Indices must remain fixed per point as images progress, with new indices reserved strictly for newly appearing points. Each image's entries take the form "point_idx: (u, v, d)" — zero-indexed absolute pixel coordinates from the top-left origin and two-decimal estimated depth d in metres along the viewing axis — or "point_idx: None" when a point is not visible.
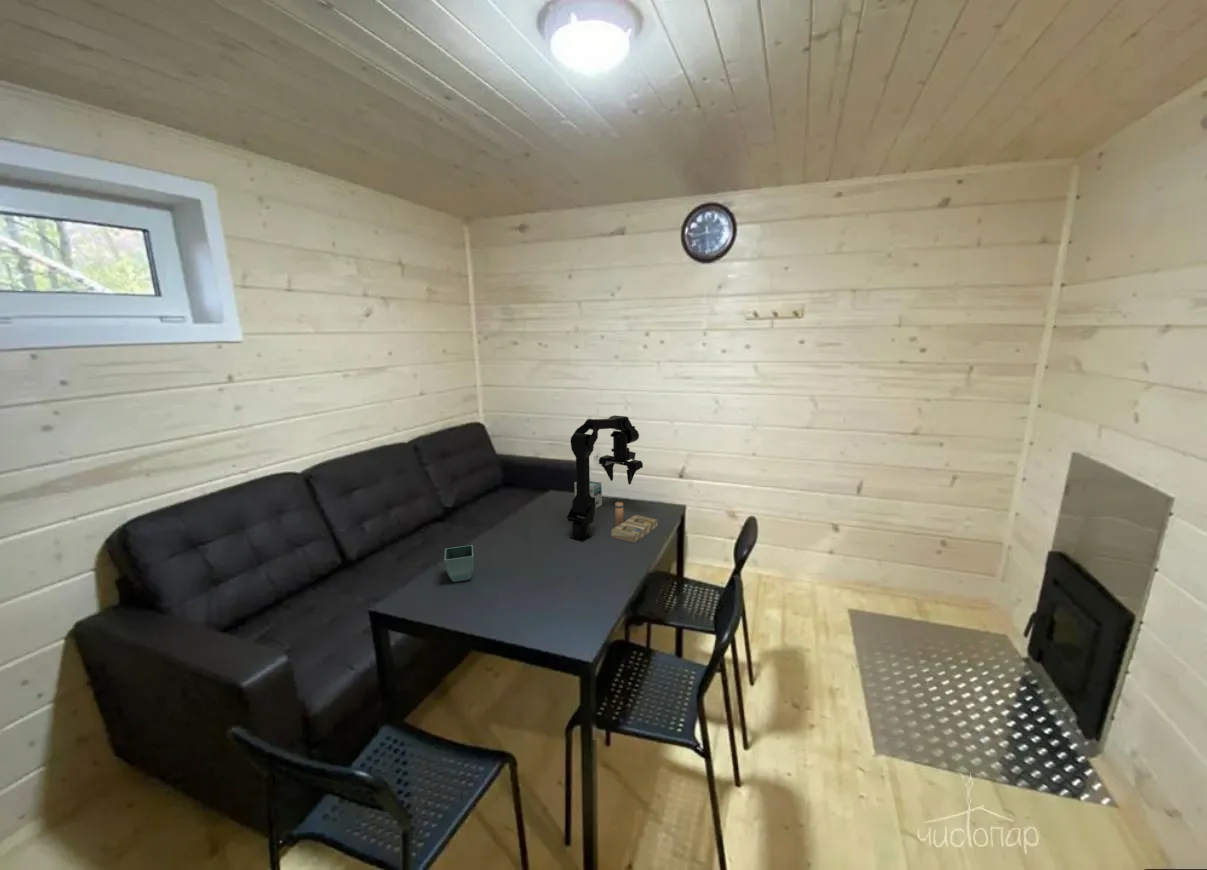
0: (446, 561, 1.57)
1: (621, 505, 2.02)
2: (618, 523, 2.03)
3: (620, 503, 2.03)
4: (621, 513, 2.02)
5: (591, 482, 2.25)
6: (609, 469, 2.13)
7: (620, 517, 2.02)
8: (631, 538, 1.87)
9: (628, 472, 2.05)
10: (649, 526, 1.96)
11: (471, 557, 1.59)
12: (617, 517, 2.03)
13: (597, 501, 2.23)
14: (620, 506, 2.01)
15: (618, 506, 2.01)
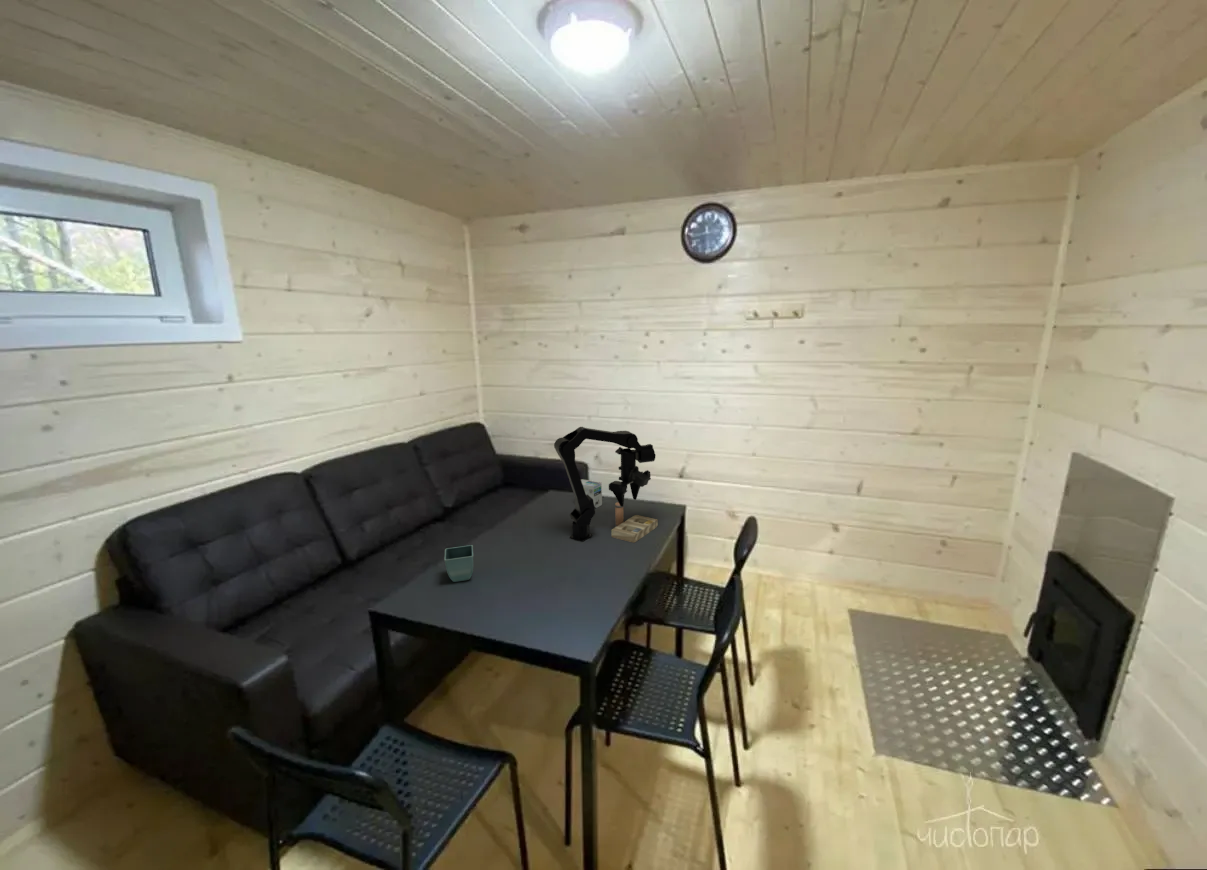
0: (446, 561, 1.57)
1: None
2: (618, 523, 2.03)
3: None
4: (621, 513, 2.02)
5: (591, 482, 2.25)
6: (632, 486, 2.01)
7: (620, 517, 2.02)
8: (631, 538, 1.87)
9: None
10: (649, 526, 1.96)
11: (471, 557, 1.59)
12: (617, 517, 2.03)
13: (597, 501, 2.23)
14: (620, 506, 2.01)
15: (618, 506, 2.01)
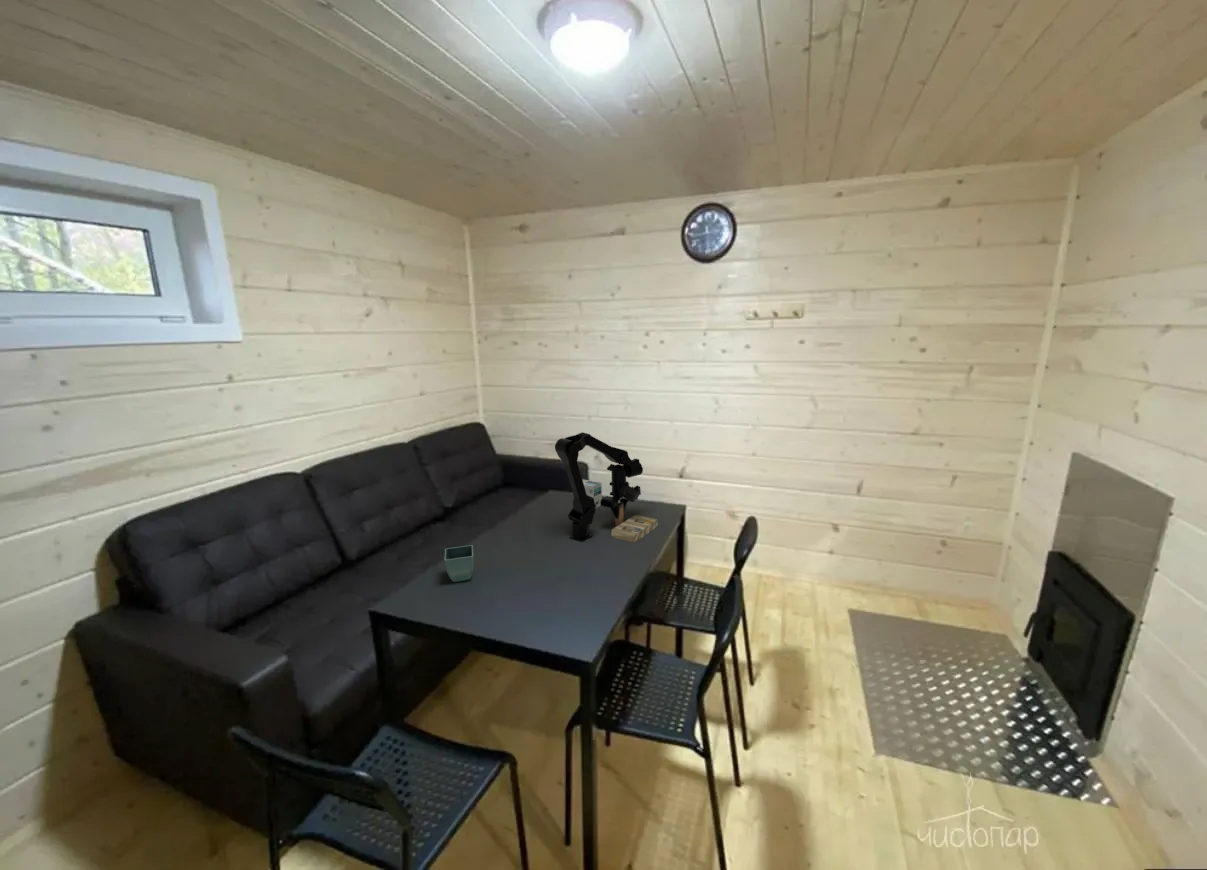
0: (446, 561, 1.57)
1: (621, 505, 2.02)
2: (618, 523, 2.03)
3: None
4: (621, 513, 2.02)
5: (591, 482, 2.25)
6: None
7: (620, 517, 2.02)
8: (631, 538, 1.87)
9: None
10: (649, 526, 1.96)
11: (471, 557, 1.59)
12: None
13: (597, 501, 2.23)
14: (620, 506, 2.01)
15: None
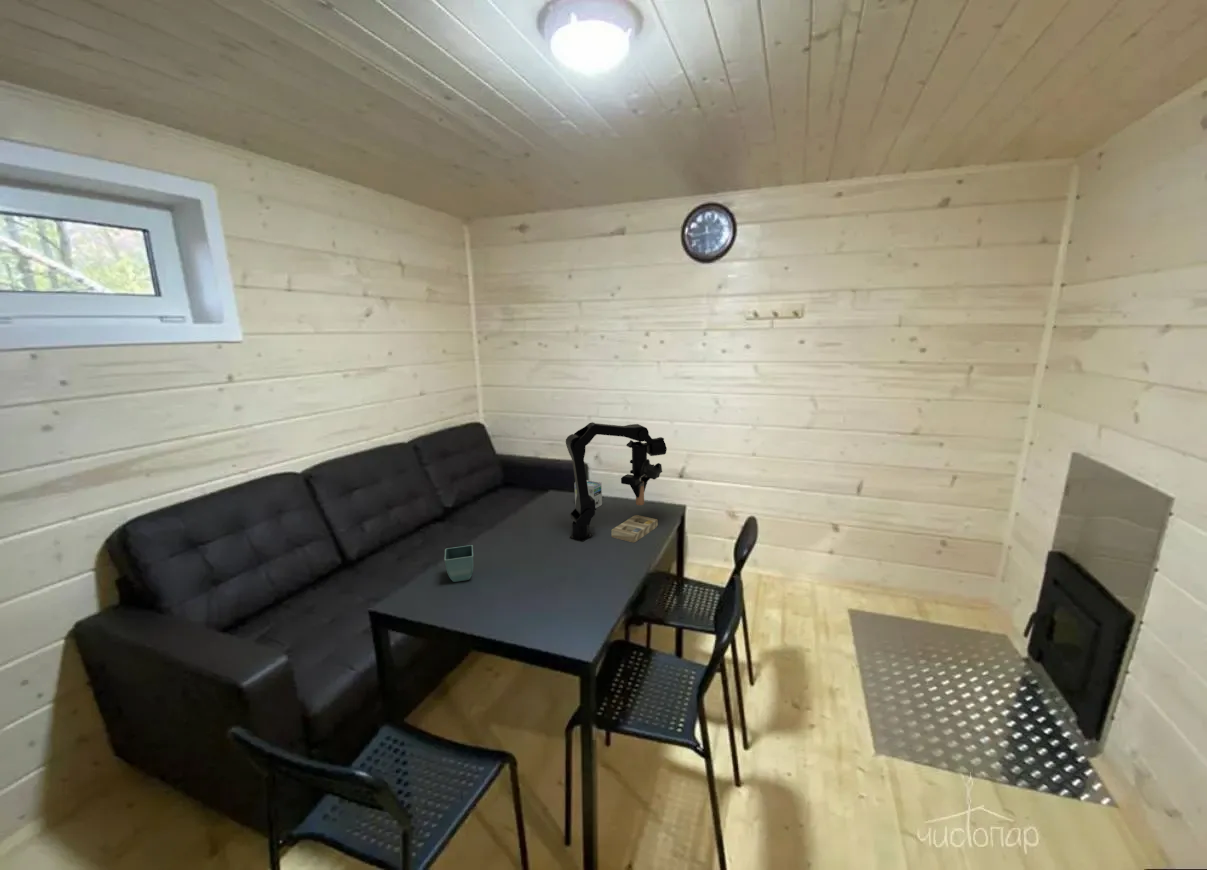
0: (446, 561, 1.57)
1: (642, 483, 1.96)
2: (639, 502, 1.97)
3: None
4: (642, 492, 1.97)
5: (591, 482, 2.25)
6: None
7: (641, 496, 1.97)
8: (631, 538, 1.87)
9: None
10: (649, 526, 1.96)
11: (471, 557, 1.59)
12: None
13: (597, 501, 2.23)
14: (641, 484, 1.96)
15: None
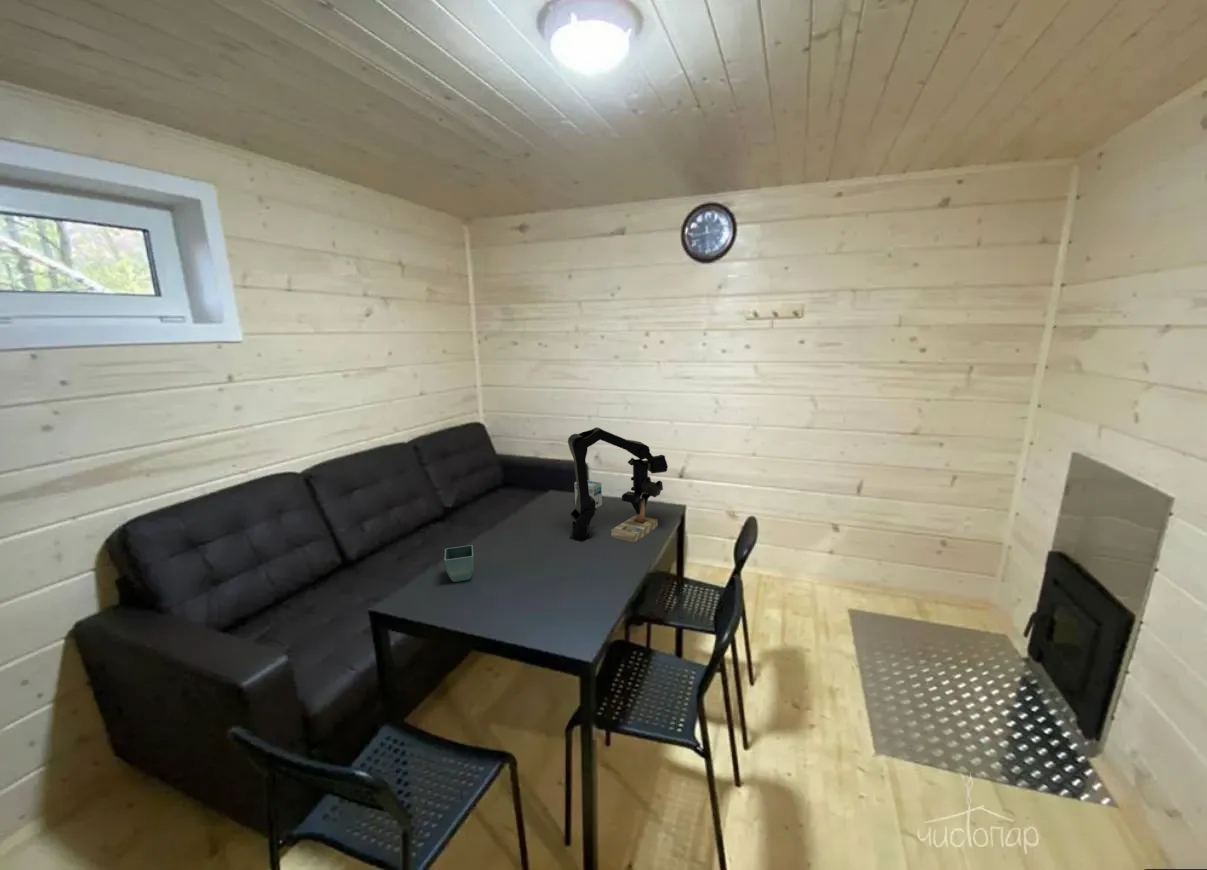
0: (446, 561, 1.57)
1: None
2: (639, 519, 1.99)
3: None
4: (642, 509, 1.98)
5: (591, 482, 2.25)
6: None
7: (642, 513, 1.98)
8: (631, 538, 1.87)
9: None
10: (649, 526, 1.96)
11: (471, 557, 1.59)
12: None
13: (597, 501, 2.23)
14: None
15: None
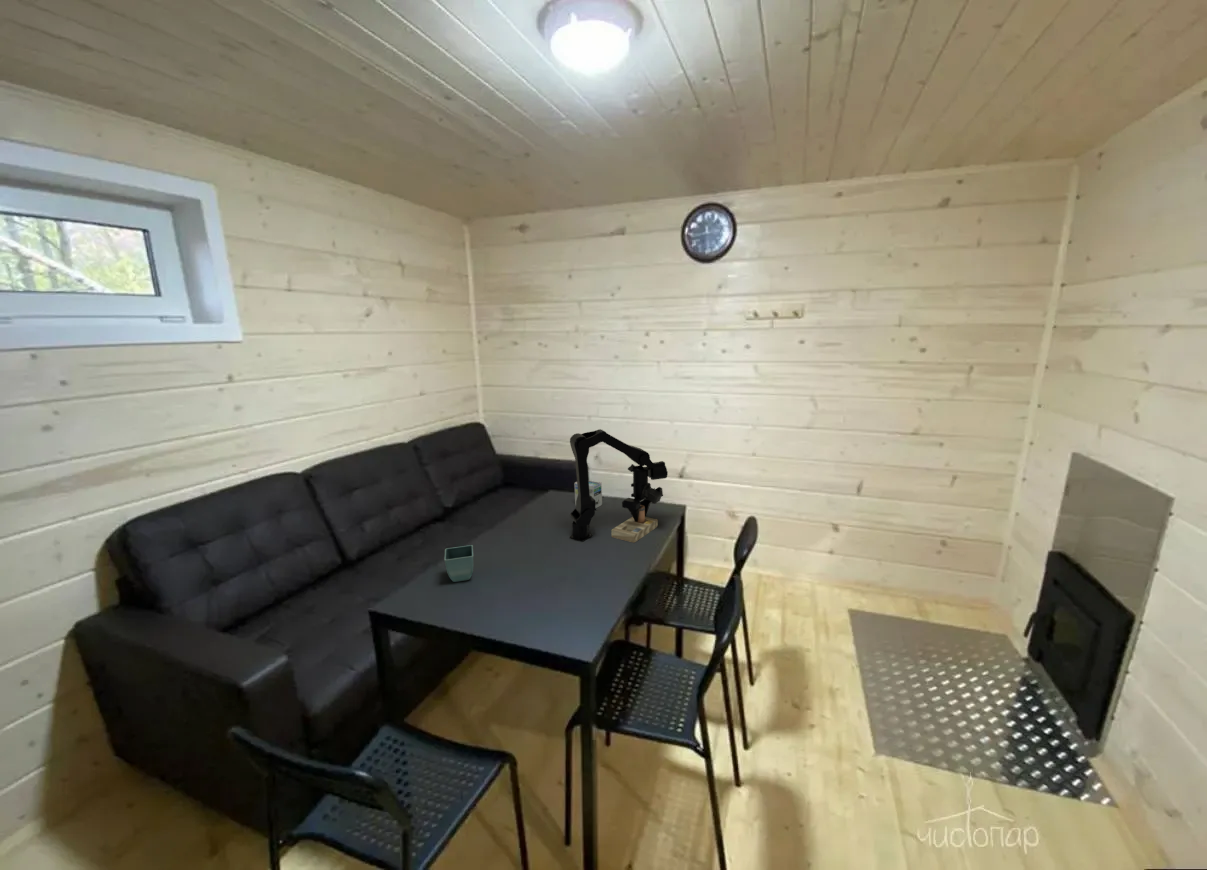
0: (446, 561, 1.57)
1: (643, 508, 1.98)
2: None
3: None
4: (642, 516, 1.98)
5: (591, 482, 2.25)
6: (642, 503, 2.02)
7: (642, 520, 1.99)
8: (631, 538, 1.87)
9: None
10: (649, 526, 1.96)
11: (471, 557, 1.59)
12: (638, 520, 1.99)
13: (597, 501, 2.23)
14: (642, 509, 1.98)
15: None
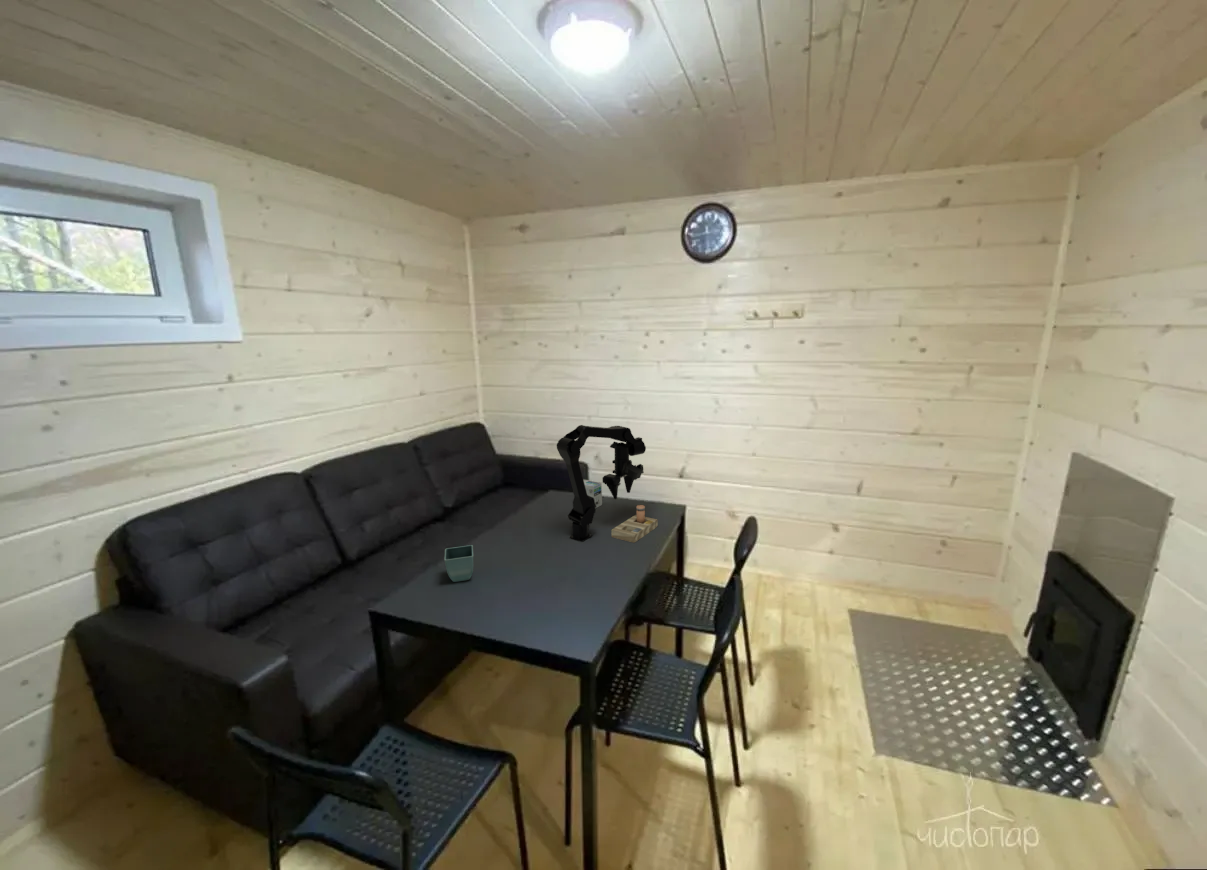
0: (446, 561, 1.57)
1: (643, 508, 1.98)
2: None
3: (641, 506, 1.99)
4: (642, 516, 1.98)
5: (591, 482, 2.25)
6: (626, 480, 2.07)
7: (642, 520, 1.99)
8: (631, 538, 1.87)
9: None
10: (649, 526, 1.96)
11: (471, 557, 1.59)
12: (638, 520, 1.99)
13: (597, 501, 2.23)
14: (642, 509, 1.98)
15: (640, 509, 1.98)
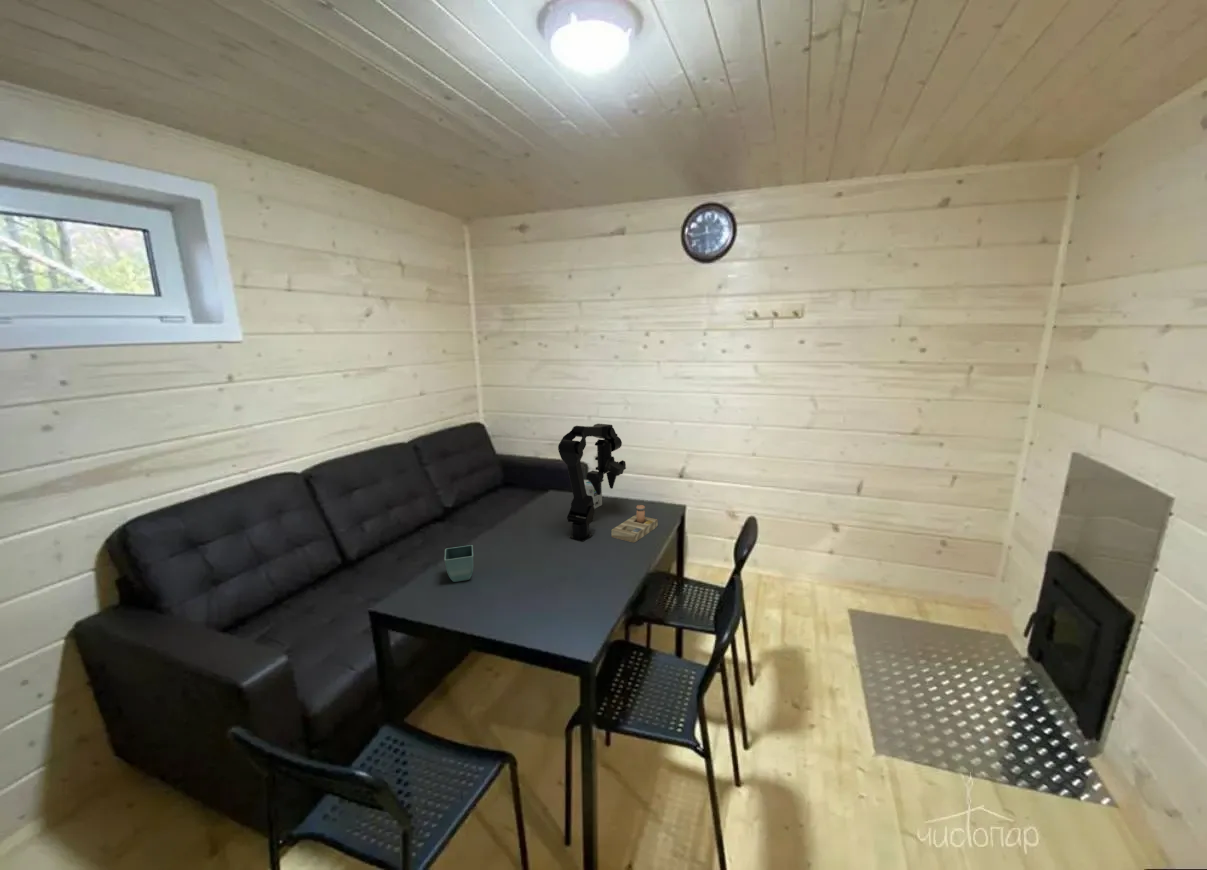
0: (446, 561, 1.57)
1: (643, 508, 1.98)
2: None
3: (641, 506, 1.99)
4: (642, 516, 1.98)
5: None
6: (609, 476, 2.12)
7: (642, 520, 1.99)
8: (631, 538, 1.87)
9: None
10: (649, 526, 1.96)
11: (471, 557, 1.59)
12: (638, 520, 1.99)
13: (597, 501, 2.23)
14: (642, 509, 1.98)
15: (639, 509, 1.98)
